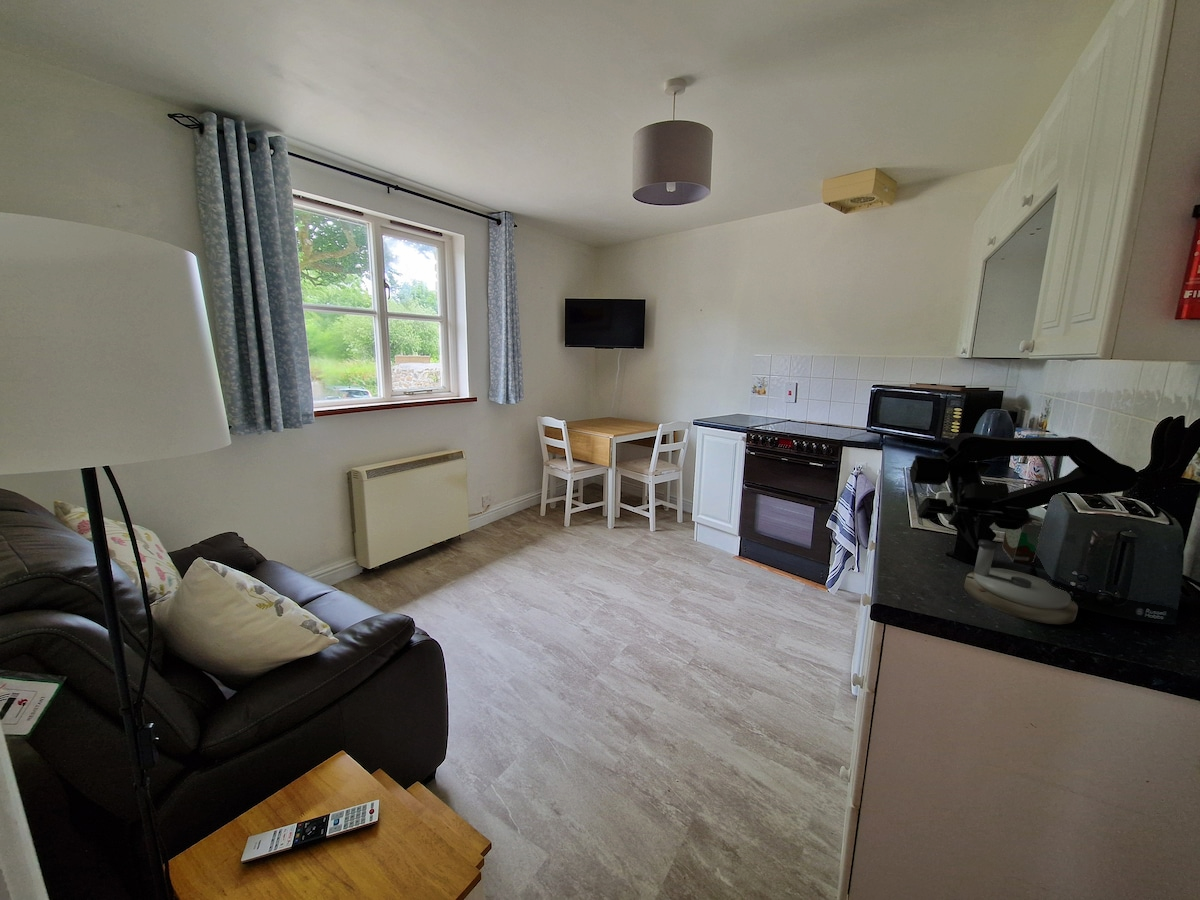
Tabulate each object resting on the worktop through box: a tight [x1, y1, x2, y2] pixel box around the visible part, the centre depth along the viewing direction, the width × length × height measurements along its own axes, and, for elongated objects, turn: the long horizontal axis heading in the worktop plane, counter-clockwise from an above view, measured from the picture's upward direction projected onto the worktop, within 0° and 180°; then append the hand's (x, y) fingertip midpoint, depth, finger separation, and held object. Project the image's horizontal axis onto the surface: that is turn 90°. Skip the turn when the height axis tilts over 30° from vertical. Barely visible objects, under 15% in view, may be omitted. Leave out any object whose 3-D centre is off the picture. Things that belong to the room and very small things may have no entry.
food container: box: [1001, 513, 1044, 564], centre depth 108 cm, size 12×6×10 cm, turn 151°
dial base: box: [963, 571, 1079, 625], centre depth 89 cm, size 16×16×2 cm
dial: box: [973, 539, 1072, 609], centre depth 88 cm, size 14×14×8 cm
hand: (976, 548), depth 96 cm, fingers closed
